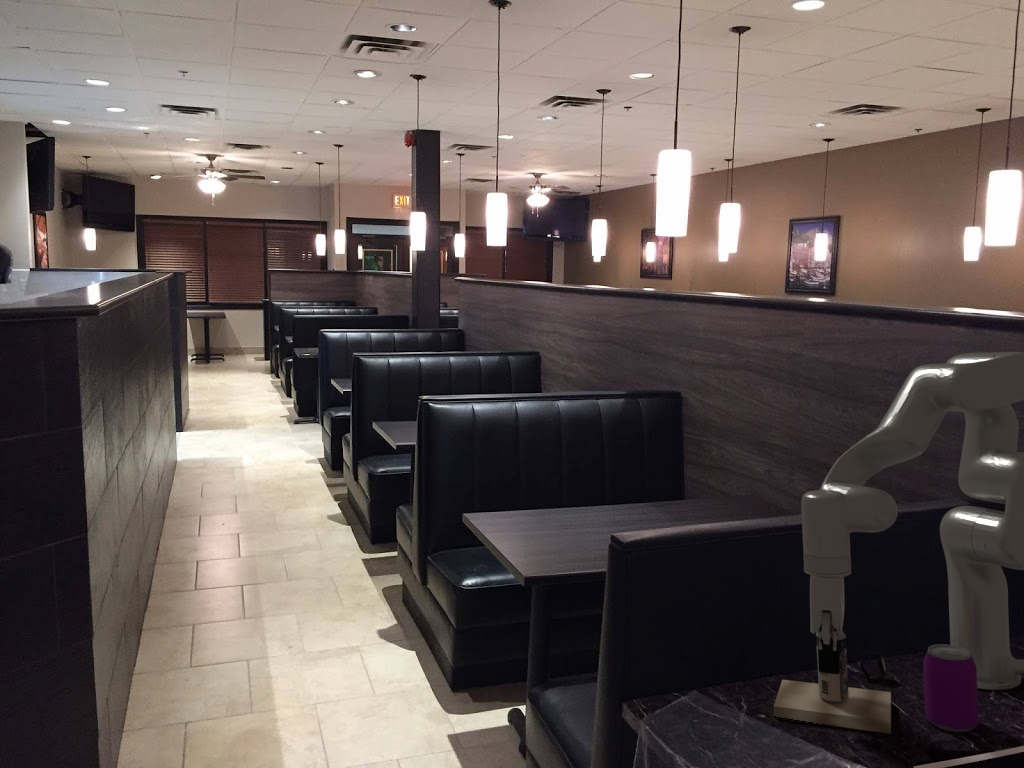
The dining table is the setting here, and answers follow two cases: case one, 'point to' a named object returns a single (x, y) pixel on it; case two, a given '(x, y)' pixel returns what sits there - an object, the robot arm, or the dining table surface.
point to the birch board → (834, 707)
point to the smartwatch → (879, 659)
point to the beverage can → (950, 688)
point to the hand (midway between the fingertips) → (831, 662)
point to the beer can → (835, 675)
